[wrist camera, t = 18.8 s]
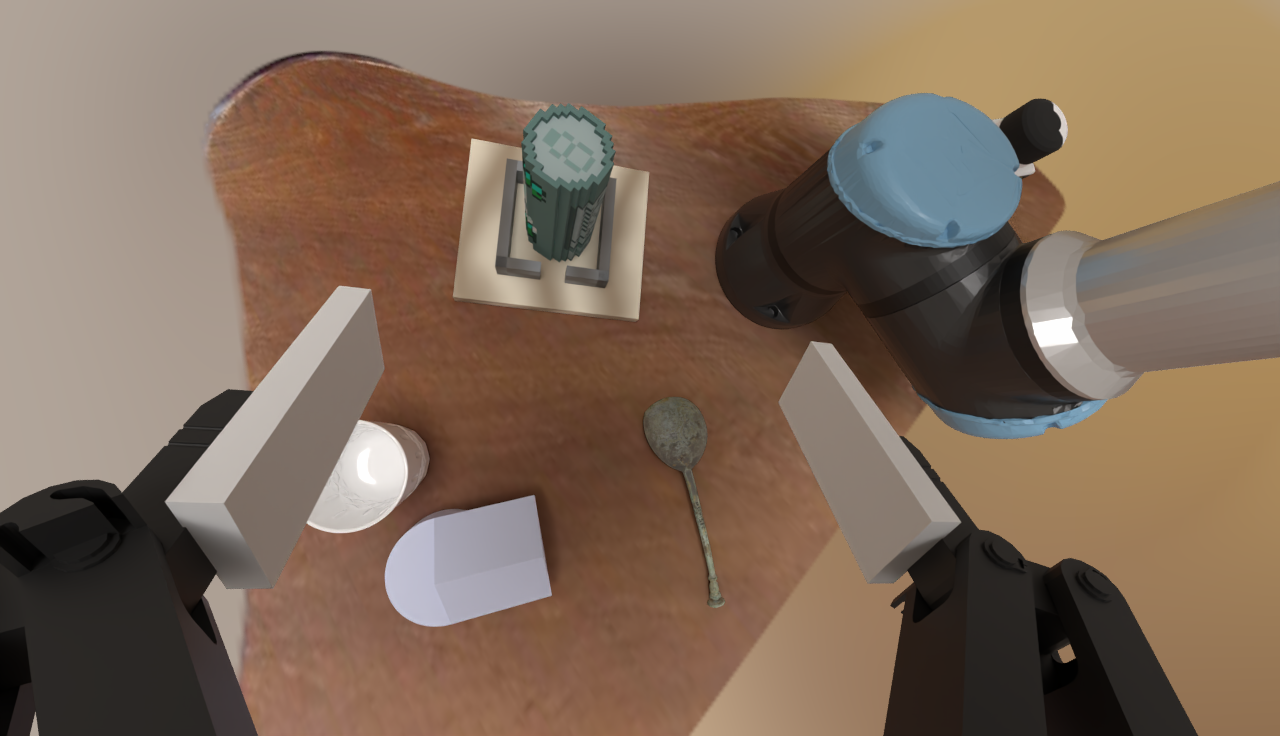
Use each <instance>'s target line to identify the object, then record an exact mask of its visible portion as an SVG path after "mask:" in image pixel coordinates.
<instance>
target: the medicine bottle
mask: <svg viewBox="0 0 1280 736" xmlns="http://www.w3.org/2000/svg"><path fill="white" fill-rule="evenodd" d="M992 121H993V122H994V123H995V124H996V125H997V126H998V127H999V128H1000V129H1001V130H1002V132H1003V133H1004V134H1005V136H1006V137H1007V138H1008V140H1009V142H1010V143H1011V145H1012V147H1013V149H1014V151H1015V153H1016V155H1017V158H1018V161H1019V165H1020V166H1019V168H1018V169H1017V171H1016V172H1014V173H1015V175H1017V176H1018V177H1020V178H1021V179H1023V178H1025V177H1027V176H1029V175H1031V174H1033V173H1034V172H1035V168H1034V165H1033V162H1035V161H1037V160H1039V159H1041V158H1043V157H1045V156H1047V155H1049V154H1051V153H1053V152H1055V151H1057V150H1059V149H1060V148H1061V147H1062V145H1063V144H1064V142H1065V140H1066V138H1067V133H1068V127H1067V122H1066V119H1065V116H1064V114H1063V113H1062V111H1061V110H1060V108H1059V107H1058V106H1056V104H1054V103H1053V102H1051V101H1049V100H1046V99H1033V100H1031V101H1029V102H1028V103H1026V104H1025V105H1023V106H1021V107H1020V108H1018V109H1017V110H1015V111H1013V112H1012V113H1011V114H1009V115H1007V116H1006V117H1004V118H1001V119H995V120H992Z"/></svg>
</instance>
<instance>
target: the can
mask: <svg viewBox="0 0 1280 736" xmlns="http://www.w3.org/2000/svg"><path fill="white" fill-rule="evenodd" d="M605 126H606V124H605V123H603V122H602V121H601V120H599V119H598V118H597V117H595V116H594V115H593V114H591V113H590V112H589V111H587V110H586V109H585V108H583V107H582V106H581V108H580V109H579V110H577V109H576V108H575V107H573V106H572V105H571V104H569V103H568V104H567V106H566V107H564V106H563V105H562V104H560V105H559V106H558V107H555V106H554V105H553V104H552V105H551V106H550V107H549V108H548V110H547V111H546V112H544V111H543V110H542V109H540V110H539V111H538V112H537V113H536V115H535V116H534V117H533V118H532V120H531V121H530V122H529V123H528V125H527V126H526V127H525V128H524V130H523V136H524V140H523V141H522V142H521V143H522V162H523V181H524V200H525V219H526V230H527V236H528V241H529V242H530V243H532V244H533V249H534V250H535V251H537V252H538V253H539V254H541V255H542V256H544V257H545V258H547V259H548V260H550V261H551V260H552V258H554V259H555V260H556V261H558V262H559V263H560V261H561V260H563V261H566V260H567V259H569V260H570V261H571V260H572V259H573V257H574V256H575V255H576V256H578V257H579V256H580V255H581V253H582V252H583V250H584V249H585V248H586V246H587V245H588V243H589V242H590V239H591V236H592V233H593V230H594V226H595V223H596V220H597V217H598V214H599V210H600V207H601V204H602V201H603V198H604V194H605V191H606V188H607V185H608V182H609V178H610V175H611V172H612V169H613V166H614V163H613V158H614V155H615V152H616V151H615V150H613V149H612V148H613V145H614V143H613V142H611V138H612V135H611V134H609V133H608V132H607V131H605Z"/></svg>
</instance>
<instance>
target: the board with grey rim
mask: <svg viewBox="0 0 1280 736" xmlns="http://www.w3.org/2000/svg"><path fill="white" fill-rule="evenodd" d="M648 181H649V172H645V171H640V170H635V169H629V168H624V167H619V166H613V169H612V172H611V175H610V178H609V182H608V185H607V188H606V191H605V194H604V198H603V201H602V204H601V207H600V210H599V214H598V217H597V220H596V223H595V226H594V230H593V233H592V236H591V239H590V242H589V243H588V245H587V246H586V248H585V249H584V250H583V252H582V253H581V255H580V256H579V257H578V256H576V255H575V256H574V257H573V259H572V260H571V261H570V260H569V259H567V260H566V261H563V260H561V261H560V263H559V262H558V261H556V260H555V259H554V258H552V260H551V261H550V260H548V259H547V258H545V257H544V256H542V255H541V254H539V253H538V252H537V251H535V250H534V249H533V244H532V243H530V242H529V241H528V236H527V230H526V219H525V200H524V181H523V162H522V148H519V147H513V146H508V145H503V144H497V143H492V142H487V141H482V140H476V139H472V141H471V149H470V158H469V166H468V175H467V183H466V191H465V200H464V208H463V216H462V225H461V233H460V241H459V250H458V258H457V266H456V275H455V283H454V291H453V298H454V299H455V301H462V302H470V303H479V304H487V305H496V306H504V307H513V308H521V309H530V310H538V311H547V312H555V313H564V314H573V315H581V316H590V317H598V318H607V319H615V320H624V321H632V322H636V321H637V320H638V319H639V308H640V294H641V280H642V266H643V252H644V237H645V223H646V209H647V195H648Z"/></svg>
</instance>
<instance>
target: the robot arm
mask: <svg viewBox="0 0 1280 736" xmlns="http://www.w3.org/2000/svg"><path fill="white" fill-rule="evenodd" d="M1019 166H1020V165H1019V161H1018V158H1017V155H1016V153H1015V151H1014V149H1013V147H1012V145H1011V143H1010V142H1009V140H1008V138H1007V137H1006V136H1005V134H1004V133H1003V132H1002V130H1001V129H1000V128H999V127H998V126H997V125H996V124H995V123H994V122H993V121H992V120H991V119H990V118H989V117H988V116H986V115H985V114H984V113H982V112H981V111H979V110H978V109H976V108H975V107H973V106H972V105H969V104H968V103H966V102H963V101H961V100H958V99H956V98H953V97H941V96H938V95H936V94H932V93H918V94H911V95H906V96H902V97H899V98H896V99H894V100H891V101H889V102H887V103H885V104H884V105H882V106H880V107H879V108H877V109H876V110H875V111H874V112H872V113H871V114H870V115H869V116H867V117H866V118H865V119H864V120H862V121H861V122H860V123H858V124H856V125H854V126H852V127H850V128H849V129H847V130H846V131H845V132H844V133H843V134H842V135H841V136H840V137H839V138H838V139H837V140H836V142H835V144H834V145H833V146H832V148H831V149H830V150H828V151H827V152H826V153H825V154H824V155H823V156H822V157H821V158H820V159H819V160H817V161H816V162H815V163H814V164H813V165H812V166H811V167H809V168H808V169H807V170H806V171H805V172H804V173H803V174H801V175H800V176H799V177H798V178H797V179H796V180H795V181H794V182H792V183H791V184H790V185H789V186H788V187H787V188H785V189H782V190H778V191H775V192H771V193H768V194H764V195H761V196H758V197H756V198H754V199H752V200H751V201H749V202H747V203H746V204H744V205H743V206H742V207H741V208H740V209H739V210H738V211H737V212H736V213H735V214H734V215H733V216H732V217H731V218H730V219H729V220H728V222H727V223H726V224H725V226H724V228H723V229H722V231H721V234H720V236H719V239H718V243H717V248H716V269H717V274H718V278H719V281H720V284H721V286H722V288H723V290H724V292H725V294H726V296H727V297H728V299H729V300H730V302H731V303H732V304H733V306H734V307H735V308H736V309H737V310H738V311H739V312H740V313H742V314H743V315H744V316H745V317H747V318H748V319H750V320H751V321H753V322H755V323H757V324H760V325H762V326H765V327H769V328H775V329H789V328H794V327H798V326H801V325H804V324H807V323H810V322H812V321H814V320H816V319H818V318H820V317H821V316H823V315H824V314H825V313H827V312H828V311H829V310H830V309H831V308H832V307H833V306H834V305H835V303H836V302H837V301H838V300H839V299H840V298H841V297H842V296H843V295H844V294H845V293H846V292H847V291H848V293H849V294H850V296H851V297H852V298H853V300H854V301H855V303H856V304H857V305H858V307H859V308H860V309H861V311H862V312H863V314H864V315H865V317H866V318H867V320H868V321H869V323H870V324H871V326H872V327H873V329H874V330H875V331H876V333H877V334H878V336H879V337H880V339H881V340H882V342H883V343H884V345H885V346H886V348H887V349H888V351H889V352H890V354H891V355H892V356H893V358H894V359H895V361H896V362H897V364H898V365H899V367H900V368H901V370H902V371H903V373H904V374H905V376H906V377H907V379H908V380H909V381H910V383H911V384H912V387H913V389H914V391H916V393H917V395H918V396H919V397H920V398H921V399H922V400H923V401H924V402H925V403H927V404H928V405H929V407H930V408H931V409H932V410H933V411H934V413H935V414H936V415H937V416H938V417H939V418H940V419H941V420H942V421H943V422H944V423H945V424H947V425H948V426H950V427H951V428H953V429H955V430H957V431H960V432H962V433H966V434H968V435H972V436H977V437H983V438H992V439H1016V438H1025V437H1032V436H1038V435H1042V434H1044V432H1045V429H1047V428H1049V427H1057V428H1060V429H1063V428H1066V427H1069V426H1072V425H1074V424H1076V423H1078V422H1080V421H1082V420H1084V419H1086V418H1087V417H1089V416H1090V415H1091V414H1093V413H1095V412H1096V411H1097V410H1099V409H1100V408H1101V407H1102V405H1103V404H1104V403H1105V402H1106V401H1107V400H1108V399H1112V398H1116V397H1118V396H1120V395H1122V394H1124V393H1125V392H1127V391H1128V390H1129V389H1130V388H1131V387H1132V386H1133V385H1134V383H1135V382H1136V381H1137V380H1138V379H1139V378H1140V376H1141V375H1142V374H1143V373H1144V372H1149V371H1158V370H1167V369H1176V368H1186V367H1195V366H1204V365H1213V364H1222V363H1231V362H1239V361H1250V360H1259V359H1267V358H1277V357H1280V181H1279V182H1276V183H1273V184H1270V185H1267V186H1264V187H1261V188H1258V189H1255V190H1252V191H1249V192H1246V193H1243V194H1240V195H1237V196H1234V197H1231V198H1228V199H1225V200H1222V201H1219V202H1216V203H1213V204H1210V205H1207V206H1204V207H1201V208H1198V209H1195V210H1192V211H1189V212H1186V213H1183V214H1180V215H1177V216H1174V217H1171V218H1168V219H1165V220H1162V221H1159V222H1156V223H1153V224H1150V225H1147V226H1144V227H1141V228H1138V229H1135V230H1132V231H1129V232H1126V233H1124V234H1120V235H1117V236H1114V237H1111V238H1108V239H1105V240H1099V239H1097V238H1094V237H1091V236H1088V235H1086V234H1083V233H1080V232H1076V231H1059V232H1056V233H1053V234H1050V235H1047V236H1045V237H1042V238H1039V239H1037V240H1034V241H1031V242H1028V243H1022V241H1021V240H1020V238H1019V237H1018V235H1017V234H1016V232H1015V231H1014V230H1013V228H1012V227H1011V225H1010V224H1009V222H1008V220H1009V219H1010V218H1011V216H1012V215H1013V213H1014V212H1015V210H1016V208H1017V206H1018V204H1019V201H1020V197H1021V191H1022V179H1021V178H1020V177H1018V176H1017V175H1015V173H1014V172H1016V171H1017V169H1018V168H1019ZM384 369H385V368H384V362H383V357H382V351H381V345H380V339H379V333H378V328H377V322H376V316H375V310H374V304H373V298H372V293H371V289H363V288H354V287H346V286H338V288H337V289H336V290H335V291H334V292H333V294H332V295H331V296H330V297H329V299H328V300H327V301H326V302H325V304H324V305H323V306H322V307H321V309H320V310H319V311H318V312H317V314H316V315H315V316H314V317H313V319H312V320H311V321H310V322H309V323H308V325H307V326H306V327H305V328H304V330H303V331H302V332H301V333H300V335H299V336H298V337H297V338H296V340H295V341H294V342H293V343H292V345H291V346H290V347H289V348H288V350H287V351H286V352H285V353H284V354H283V356H282V357H281V358H280V359H279V361H278V362H277V363H276V364H275V366H274V367H273V368H272V369H271V371H270V372H269V373H268V374H267V376H266V377H265V378H264V379H263V381H262V382H261V383H260V384H259V385H258V387H257V388H256V389H255V390H254V391H244V390H230V389H228V390H226V391H224V392H223V393H221V394H219V395H218V396H216V397H215V398H213V399H211V400H210V401H208V402H206V403H205V404H203V405H201V406H200V407H199V409H198V410H197V411H196V412H195V413H194V414H193V415H192V416H191V417H190V419H189V420H188V421H187V422H186V423H185V424H184V428H183V429H180V430H179V431H178V432H177V433H176V434H175V435H174V436H173V437H172V438H171V440H170V441H169V444H168V446H164V447H163V448H162V449H161V450H160V452H159V453H158V454H157V455H156V456H155V457H154V458H153V459H152V460H151V462H150V463H149V464H148V465H147V466H146V467H145V468H144V469H143V470H142V472H141V473H140V474H139V475H138V476H137V477H136V478H135V479H134V480H133V481H132V483H131V484H130V485H129V486H128V487H127V488H126V489H125V490H124V491H123V492H122V493H121V491H120V490H119V489H118V488H117V486H116V485H115V484H112V483H108V482H105V481H101V480H80V481H79V480H77V481H72V482H68V483H64V484H60V485H56V486H51V487H48V488H46V489H43V490H41V491H39V492H37V493H34V494H32V495H29V496H27V497H25V498H23V499H21V500H19V501H18V502H16V503H15V504H13V505H12V506H10V507H9V508H7V509H6V510H4V511H3V512H1V513H0V736H30V731H31V727H32V723H33V719H34V715H35V711H36V717H37V724H38V731H39V736H258V734H257V732H256V729H255V726H254V724H253V721H252V718H251V716H250V713H249V710H248V708H247V705H246V702H245V700H244V697H243V694H242V691H241V689H240V686H239V683H238V681H237V678H236V675H235V673H234V670H233V667H232V665H231V662H230V659H229V657H228V654H227V651H226V649H225V646H224V643H223V641H222V638H221V635H220V633H219V630H218V627H217V624H216V622H215V619H214V616H213V614H212V611H211V608H210V606H209V603H208V601H207V599H206V598H205V597H204V596H203V594H204V592H205V591H206V589H207V587H208V586H209V584H210V582H211V581H212V579H213V578H214V576H215V575H217V576H218V577H219V579H220V580H221V581H222V583H223V584H224V586H225V587H226V589H263V588H274V586H275V584H276V582H277V580H278V578H279V576H280V574H281V572H282V570H283V568H284V566H285V564H286V562H287V560H288V558H289V556H290V554H291V552H292V550H293V549H294V547H295V545H296V543H297V541H298V539H299V537H300V535H301V533H302V531H303V529H304V527H305V525H306V523H307V521H308V519H309V517H310V515H311V513H312V511H313V509H314V507H315V505H316V503H317V501H318V499H319V497H320V495H321V493H322V491H323V489H324V487H325V485H326V483H327V482H328V480H329V478H330V476H331V474H332V472H333V470H334V468H335V466H336V464H337V462H338V460H339V458H340V456H341V454H342V452H343V450H344V448H345V446H346V444H347V442H348V440H349V438H350V436H351V434H352V432H353V430H354V428H355V426H356V424H357V422H358V420H359V418H360V416H361V415H362V413H363V411H364V409H365V407H366V405H367V403H368V401H369V399H370V397H371V395H372V393H373V391H374V389H375V387H376V385H377V383H378V381H379V379H380V377H381V375H382V373H383V371H384ZM778 403H779V405H780V407H781V409H782V411H783V413H784V415H785V417H786V419H787V421H788V423H789V425H790V427H791V429H792V431H793V433H794V435H795V437H796V439H797V441H798V443H799V445H800V447H801V449H802V451H803V453H804V455H805V457H806V459H807V461H808V464H809V466H810V468H811V470H812V472H813V474H814V476H815V478H816V480H817V482H818V484H819V486H820V488H821V490H822V492H823V494H824V496H825V498H826V500H827V502H828V504H829V506H830V508H831V510H832V512H833V514H834V516H835V518H836V520H837V522H838V524H839V526H840V528H841V530H842V533H843V535H844V537H845V539H846V541H847V543H848V544H849V547H850V549H851V551H852V553H853V555H854V557H855V559H856V561H857V563H858V565H859V567H860V569H861V571H862V573H863V575H864V577H865V579H866V581H867V583H894V582H896V581H897V580H898V579H899V578H900V577H901V576H902V575H903V574H904V573H906V572H907V571H908V572H909V574H910V576H911V577H912V579H913V581H914V583H912V584H911V585H910V586H909V587H908V588H907V589H905V590H904V591H903V592H902V593H901V594H900V595H898V596H897V597H896V598H895V599H894V600H893V602H892V603H891V607H893V608H896V607H897V606H898V605H899V604H901V603H902V602H904V601H905V605H904V610H903V611H901V613H902V614H903V618H902V624H901V630H900V636H899V643H898V649H897V655H896V661H895V667H894V673H893V680H892V686H891V693H890V698H889V704H888V711H887V717H886V723H885V729H884V735H883V736H1198V735H1197V733H1196V731H1195V729H1194V727H1193V725H1192V723H1191V722H1190V720H1189V718H1188V716H1187V714H1186V712H1185V710H1184V708H1183V707H1182V705H1181V703H1180V701H1179V699H1178V697H1177V695H1176V693H1175V692H1174V690H1173V688H1172V686H1171V684H1170V682H1169V680H1168V679H1167V677H1166V675H1165V673H1164V671H1163V669H1162V667H1161V665H1160V663H1159V662H1158V660H1157V658H1156V656H1155V654H1154V652H1153V650H1152V649H1151V647H1150V645H1149V643H1148V641H1147V639H1146V637H1145V635H1144V634H1143V632H1142V630H1141V628H1140V626H1139V624H1138V623H1137V620H1136V619H1135V617H1134V615H1133V613H1132V611H1131V609H1130V607H1129V605H1128V604H1127V602H1126V600H1125V598H1124V597H1123V595H1122V594H1121V592H1120V591H1119V590H1118V588H1117V587H1116V586H1115V585H1114V584H1113V583H1112V582H1111V581H1110V580H1109V579H1108V578H1107V577H1106V576H1105V575H1104V574H1103V573H1101V572H1100V571H1098V570H1097V569H1095V568H1094V567H1092V566H1090V565H1088V564H1086V563H1084V562H1082V561H1080V560H1076V559H1072V558H1068V559H1063V560H1062V561H1060V562H1059V563H1057V564H1056V565H1054V566H1053V567H1051V568H1049V567H1046V566H1043V565H1040V564H1037V563H1034V562H1030V561H1027V560H1025V559H1024V557H1023V556H1022V554H1021V553H1020V552H1019V551H1018V550H1017V549H1016V548H1015V547H1014V546H1013V545H1012V544H1011V543H1009V542H1007V541H1006V540H1005V539H1003V538H1002V537H1000V536H999V535H996V534H994V533H992V532H989V531H985V530H979V529H978V528H977V527H976V525H975V524H974V523H973V521H972V520H971V519H970V517H969V516H968V515H967V513H966V512H965V511H964V509H963V508H962V507H961V505H960V504H959V503H958V501H957V500H956V499H955V497H954V496H953V495H952V493H951V492H950V491H949V489H948V488H947V487H946V485H945V484H944V483H943V482H941V481H940V477H939V476H938V475H937V473H936V472H935V471H934V469H931V465H930V464H929V463H928V461H927V460H926V459H925V457H924V456H923V454H922V453H921V452H920V451H919V450H918V449H917V448H916V447H915V446H914V445H913V444H911V443H910V442H909V441H908V440H907V439H906V438H904V437H903V436H898V434H897V433H896V432H895V430H894V429H893V427H892V426H891V425H890V423H889V422H888V421H887V419H886V418H885V416H884V415H883V414H882V412H881V411H880V410H879V408H878V407H877V405H876V404H875V403H874V401H873V400H872V399H871V397H870V396H869V394H868V393H867V392H866V390H865V389H864V387H863V386H862V385H861V383H860V382H859V381H858V379H857V378H856V376H855V375H854V374H853V372H852V371H851V370H850V368H849V367H848V365H847V364H846V363H845V361H844V360H843V359H842V357H841V356H840V354H839V353H838V352H837V350H836V349H835V348H834V346H833V345H832V344H830V343H822V342H813V341H811V342H810V344H809V346H808V348H807V350H806V352H805V353H804V355H803V357H802V359H801V361H800V363H799V365H798V366H797V368H796V370H795V372H794V374H793V376H792V378H791V380H790V381H789V383H788V385H787V387H786V389H785V391H784V393H783V394H782V396H781V398H780V400H779V402H778ZM1069 644H1071V647H1072V649H1073V652H1074V654H1075V657H1076V658H1075V659H1073V660H1071V661H1069V662H1067V663H1063V662H1062V661H1061V658H1060V656H1059V654H1058V650H1059V649H1061V648H1063V647H1065V646H1067V645H1069Z"/></svg>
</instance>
